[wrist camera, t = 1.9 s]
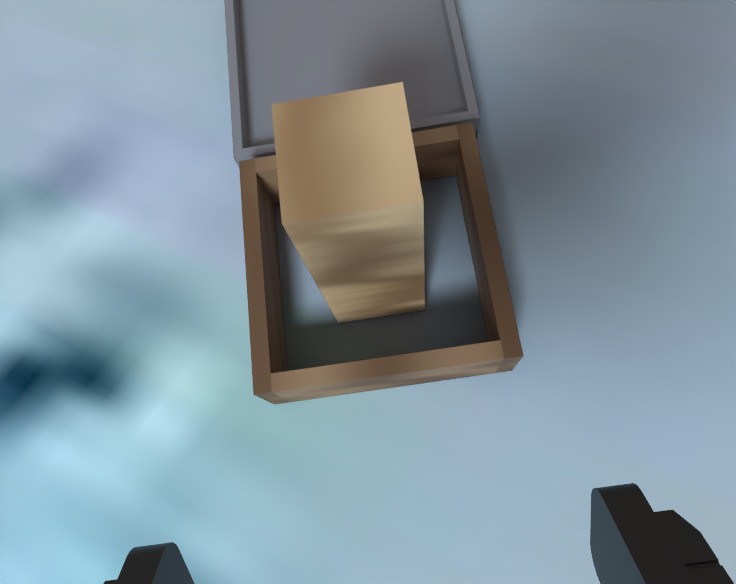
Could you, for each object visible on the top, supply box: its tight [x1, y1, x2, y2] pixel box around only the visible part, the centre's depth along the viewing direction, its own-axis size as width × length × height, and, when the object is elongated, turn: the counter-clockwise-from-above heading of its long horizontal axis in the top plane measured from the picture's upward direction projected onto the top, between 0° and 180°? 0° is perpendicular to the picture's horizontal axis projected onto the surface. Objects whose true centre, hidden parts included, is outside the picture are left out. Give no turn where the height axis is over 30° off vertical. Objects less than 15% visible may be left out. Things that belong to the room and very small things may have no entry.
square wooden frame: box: [239, 122, 523, 404], centre depth 28 cm, size 12×12×4 cm
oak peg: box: [272, 82, 425, 323], centre depth 24 cm, size 4×4×12 cm
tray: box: [224, 0, 480, 168], centre depth 33 cm, size 13×13×2 cm
